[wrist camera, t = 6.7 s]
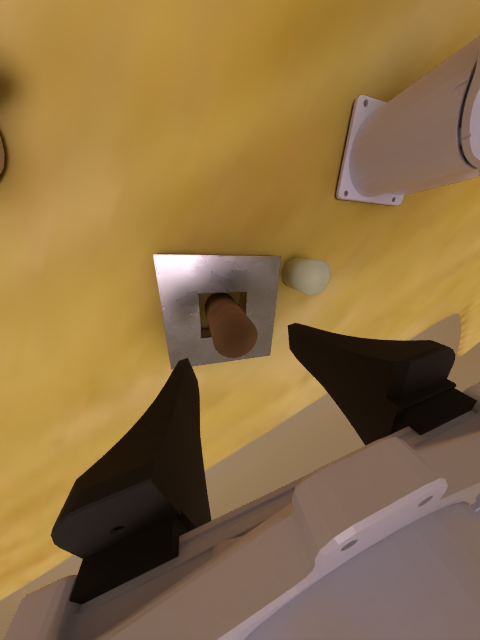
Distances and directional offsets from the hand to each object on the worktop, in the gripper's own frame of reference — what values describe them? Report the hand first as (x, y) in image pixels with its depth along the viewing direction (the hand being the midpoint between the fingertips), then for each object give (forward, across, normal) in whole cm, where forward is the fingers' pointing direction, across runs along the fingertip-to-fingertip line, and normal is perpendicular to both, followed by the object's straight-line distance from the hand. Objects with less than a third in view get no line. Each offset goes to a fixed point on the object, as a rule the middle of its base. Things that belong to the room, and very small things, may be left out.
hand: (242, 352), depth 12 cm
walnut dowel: (+10, 0, 0) cm, 10 cm away
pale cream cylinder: (+10, -10, -2) cm, 14 cm away
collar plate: (+10, 0, 0) cm, 10 cm away
